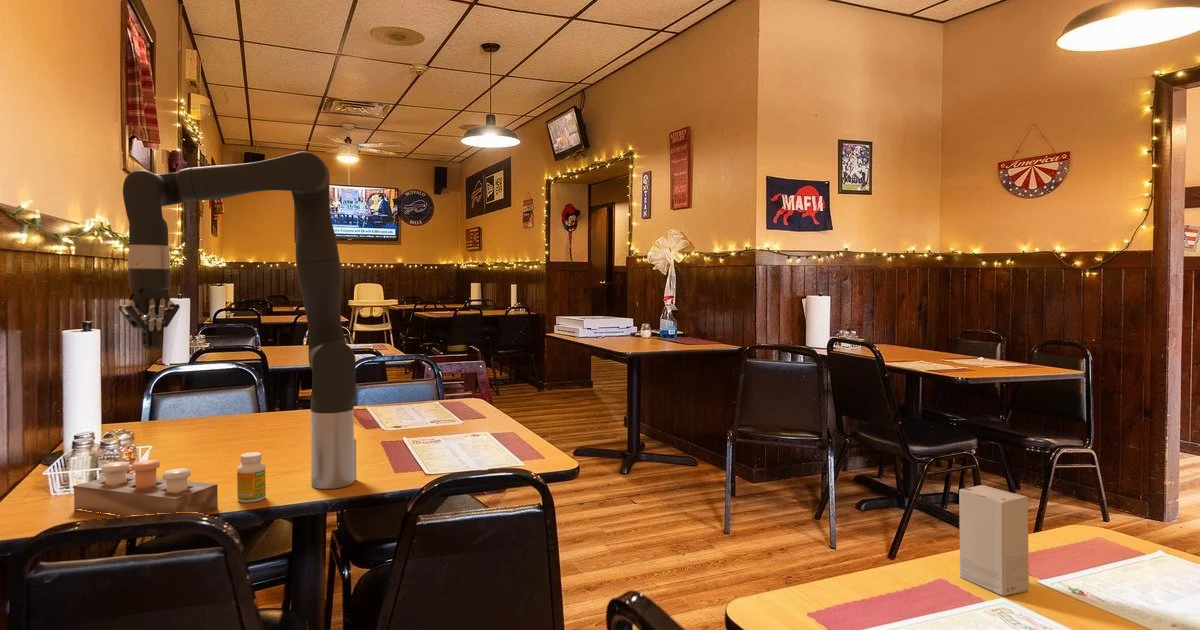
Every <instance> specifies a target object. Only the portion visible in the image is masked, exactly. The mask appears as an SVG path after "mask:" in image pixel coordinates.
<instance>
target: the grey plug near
mask: <svg viewBox="0 0 1200 630" xmlns="http://www.w3.org/2000/svg"><path fill="white" fill-rule="evenodd" d="M191 471H192V470H191V469H190V468H185V467H184V468H183V467H181V468H174V469H168V470H165V471H162V478H163V479H165V480H166V488H167V492H172V493H178V492H181V491H184V490H187V489H188V486H187V481H188V478H189V477H191V475H192V472H191Z"/></svg>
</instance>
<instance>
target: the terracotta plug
mask: <svg viewBox="0 0 1200 630" xmlns="http://www.w3.org/2000/svg"><path fill="white" fill-rule="evenodd" d="M160 464H161V463H160V460H159V459H158V460H157V459H147V460H146V459H145V460H139V461H136V462H133V463H131V464H130V468H131V471H133V472H134V475H135V486H136V488H139V489H147V488H150V487H153V486H156V485H157V480H156V477H157V469H158V468H160Z"/></svg>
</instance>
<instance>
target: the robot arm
mask: <svg viewBox="0 0 1200 630" xmlns="http://www.w3.org/2000/svg"><path fill="white" fill-rule="evenodd" d="M266 191H268V192H269V191H284V192H285V191H287V192H291V195H292V200H293V204H294V209H295V214H296V215H295V216H296V233H295V235H296V236H295V262H296V270H297V278H298V282H299V283H298V284H299V289H300V294H301V299H302V303H303V307H304V311H305V315H306V321H307V336H308V340H307V342H308V365H309V367H310V369H311V372H312V374H311V375H312V376H311V377H312V379H311V380H312V385H311V386H312V387H311V389H312V392H311V398H310V452H311V453H310V458H311V459H310V461H311V463H310V464H311V469H310V471H311V474H310V475H311V477H310V479H311V480H310V481H311V483H310V484H311V487H312V488H316V489H320V490H330V489H331V490H332V489H334V490H335V489H340V488H344V487H345V488H346V487H348V486H351V485H353V484H354V482H355V481H356V480H357V440H356V439H355V420H354V419H355V418H354V416H355V415H354V413H355V412H354V410H355V409H354V407H355V404H354V403H355V396H356V389H357V388H356V387H357V386H356V384H357V382H356V378H357V376H356V375H357V364H356V362H357V361H356V357H355V356H356V355H355V353H354V351H353V349H352V347H350V346H349V345H348V344H347V343H346V338H345V335H344V330H343V325H342V320H341V319H342V318H341V317H342V316H341V305H342V298H343V297H342V296H343V295H342V292H343V276H342V267H341V260H340V253H339V247H338V243H337V242H338V241H337V239H336V233H335V229H334V225H333V221H332V216H331V203H330V202H331V198H330V171H329V168H328V166H327V165H326V163H325V161H323V160H322V158H321V157H320V156H318V155H316V154H315V153H314V152H313V153H312V152H310V151H304V150H303V151H297V152H294V153H291V154H286V155H282V156H279V157H275V158H271V159H270V158H269V159H266V160H260V161H254V162H253V161H252V162H247V163H237V164H222V165H219V164H218V165H209V166H208V165H207V166H197V167H187V168H183V169H180V170H179V171H177V172H168V173H167V172H166V173H154V172H151V171H149V170H146V169H145V170H143V169H138V170H133V171H132V172H130V173H129V174H127V176H126V177H125V178H124V181H123V186H122V198H123V203H124V207H125V213H126V217H127V220H128V226H129V227H128V239H129V241H128V242H129V245H128V253H127V254H128V255H127V261H128V262H127V265H128V267H127V269H128V273H127V274H128V276H127V277H128V289H130V295H129V296H128V299H129V301H128V302H126V303H125V304H124V305H123V304H121V305H119V306H118V310H119V311H120V313H121V314H122V316H123V317H124V318H125V319H126V320H127V321H128V323H129V325H130V326H131V327H132V328H133V329H136V330H137V329H138V330H139V331H141V333H142V335H141V336H142V338H141V339H142V341H141V342H142V346H143V347H144V349H146V350H155V349H158V348H159V345H160V331H161V330H162V329H163V328H168V327H169V325H170V323H172V320H173V319H174V318H175V316H176V315H177V313H178V311H179V309H180V304H178V303H175V302H173V301H172V300H171V295H170V293H169V289H171V256H170V248H169V227H168V223H167V221H166V220H165V219H164V216H163V211H162V210H163V209H162V207H166V206H172V205H178V204H183V203H187V202H200V201H211V200H219V199H226V198H231V197H237V196H242V195H246V194H250V193H252V194H253V193H257V192H258V193H259V192H266Z"/></svg>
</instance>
